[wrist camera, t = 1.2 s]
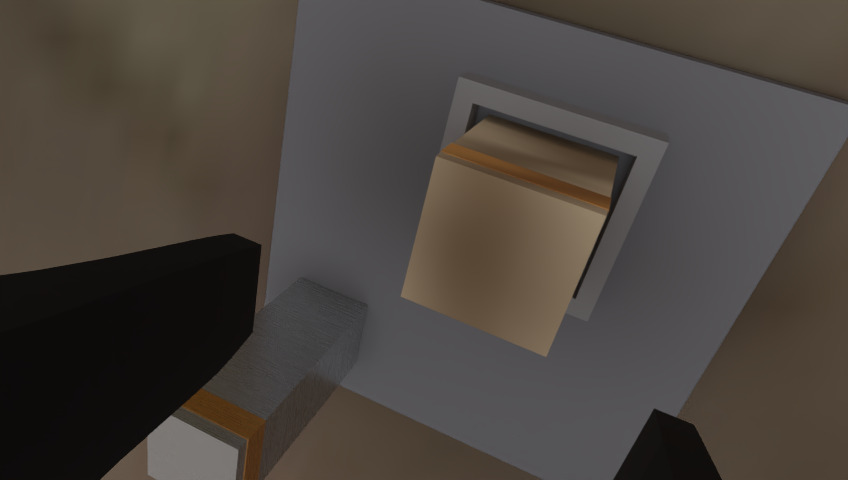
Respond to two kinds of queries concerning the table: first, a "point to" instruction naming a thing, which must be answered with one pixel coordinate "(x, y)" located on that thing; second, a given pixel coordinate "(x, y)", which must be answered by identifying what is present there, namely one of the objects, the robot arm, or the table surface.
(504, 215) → the taped cardboard box
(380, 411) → the table surface
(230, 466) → the post
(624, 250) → the base board
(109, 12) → the table surface
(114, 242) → the table surface
